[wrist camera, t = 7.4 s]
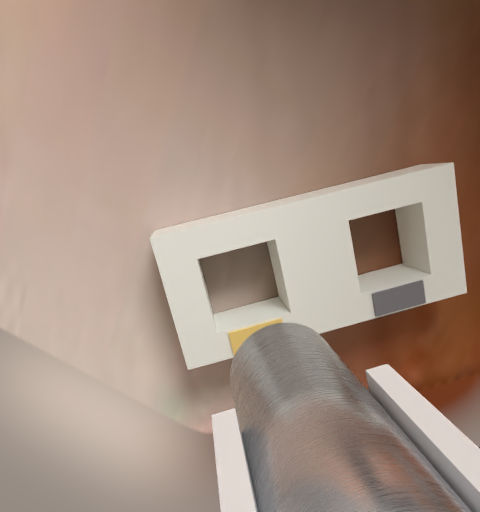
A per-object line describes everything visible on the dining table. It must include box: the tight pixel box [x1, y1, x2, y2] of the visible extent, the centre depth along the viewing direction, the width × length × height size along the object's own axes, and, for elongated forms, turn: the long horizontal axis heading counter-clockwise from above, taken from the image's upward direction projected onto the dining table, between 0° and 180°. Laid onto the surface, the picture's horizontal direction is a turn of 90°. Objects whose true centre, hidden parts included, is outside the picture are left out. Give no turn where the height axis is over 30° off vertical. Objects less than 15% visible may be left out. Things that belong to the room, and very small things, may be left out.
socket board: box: [150, 162, 467, 370], centre depth 30 cm, size 10×22×4 cm, turn 103°
